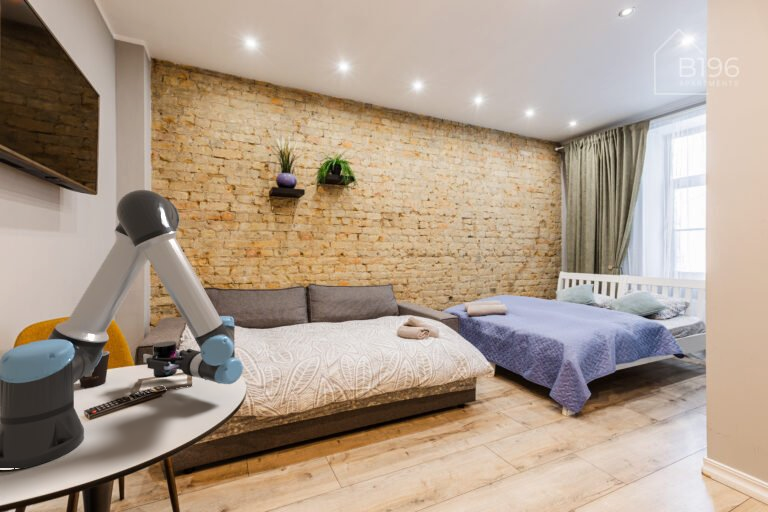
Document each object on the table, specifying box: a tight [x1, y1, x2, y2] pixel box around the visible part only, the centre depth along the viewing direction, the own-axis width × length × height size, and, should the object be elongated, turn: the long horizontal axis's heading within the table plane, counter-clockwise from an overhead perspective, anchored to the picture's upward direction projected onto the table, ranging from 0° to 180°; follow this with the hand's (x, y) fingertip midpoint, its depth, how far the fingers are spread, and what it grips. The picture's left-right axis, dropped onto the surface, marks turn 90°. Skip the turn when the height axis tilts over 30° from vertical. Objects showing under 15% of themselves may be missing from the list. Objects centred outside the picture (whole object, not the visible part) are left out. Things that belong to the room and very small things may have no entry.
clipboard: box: [132, 372, 193, 394], centre depth 115 cm, size 14×16×2 cm
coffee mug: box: [78, 350, 111, 389], centre depth 114 cm, size 12×9×10 cm
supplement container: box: [152, 340, 178, 378], centre depth 115 cm, size 7×7×10 cm
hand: (156, 355), depth 117 cm, fingers closed on supplement container, 7 cm apart
